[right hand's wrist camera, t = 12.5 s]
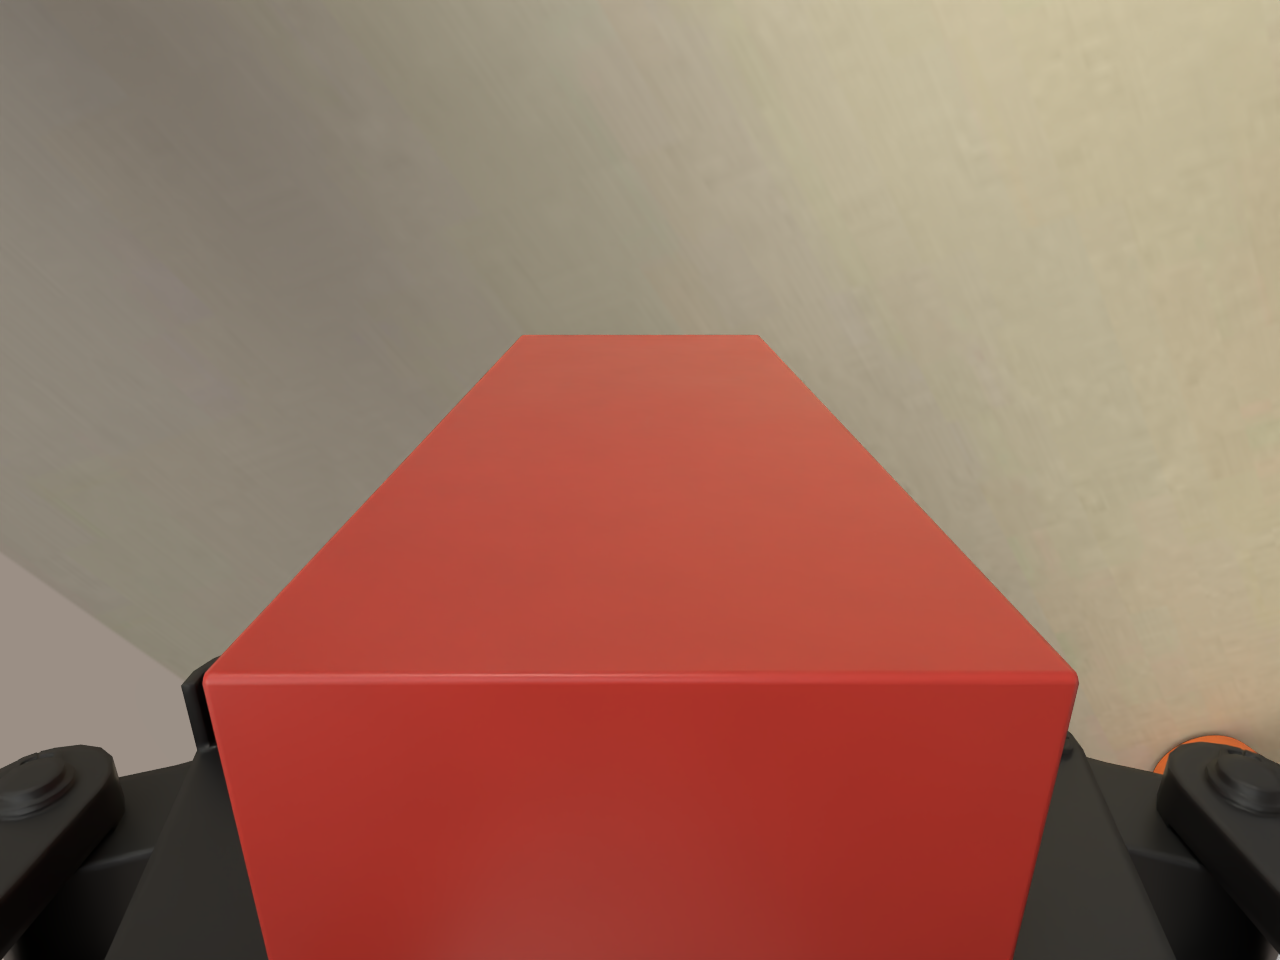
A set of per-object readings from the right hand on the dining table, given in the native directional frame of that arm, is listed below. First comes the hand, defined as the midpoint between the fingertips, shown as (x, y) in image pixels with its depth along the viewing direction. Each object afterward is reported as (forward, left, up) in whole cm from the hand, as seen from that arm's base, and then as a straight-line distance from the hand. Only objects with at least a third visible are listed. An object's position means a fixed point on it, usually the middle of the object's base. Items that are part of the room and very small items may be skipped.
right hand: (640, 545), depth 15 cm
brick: (0, 0, -2) cm, 2 cm away
